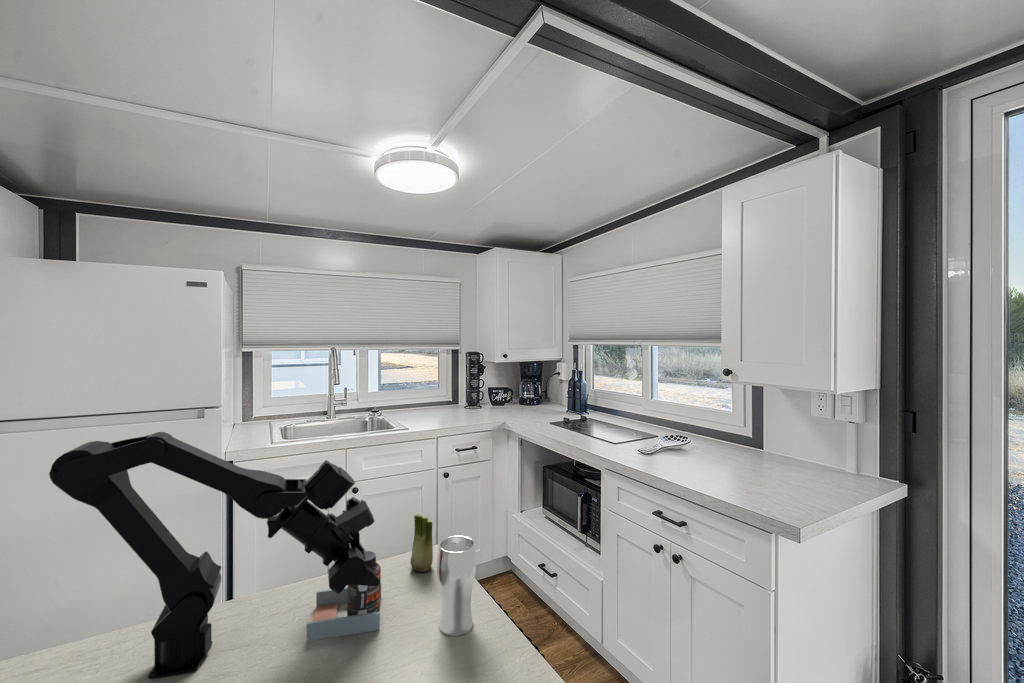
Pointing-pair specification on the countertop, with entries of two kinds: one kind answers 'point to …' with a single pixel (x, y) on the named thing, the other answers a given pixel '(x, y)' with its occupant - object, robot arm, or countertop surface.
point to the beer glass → (456, 583)
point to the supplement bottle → (365, 591)
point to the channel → (331, 626)
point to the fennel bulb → (422, 544)
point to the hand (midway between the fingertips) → (376, 575)
